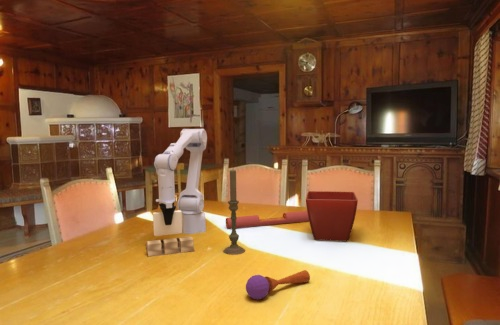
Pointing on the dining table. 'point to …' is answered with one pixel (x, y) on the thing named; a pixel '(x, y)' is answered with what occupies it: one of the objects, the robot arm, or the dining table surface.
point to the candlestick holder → (233, 218)
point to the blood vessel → (268, 220)
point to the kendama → (272, 283)
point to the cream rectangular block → (167, 229)
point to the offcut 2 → (186, 244)
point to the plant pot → (331, 214)
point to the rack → (163, 248)
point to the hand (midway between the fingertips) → (167, 223)
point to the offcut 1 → (154, 247)
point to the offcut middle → (170, 246)
